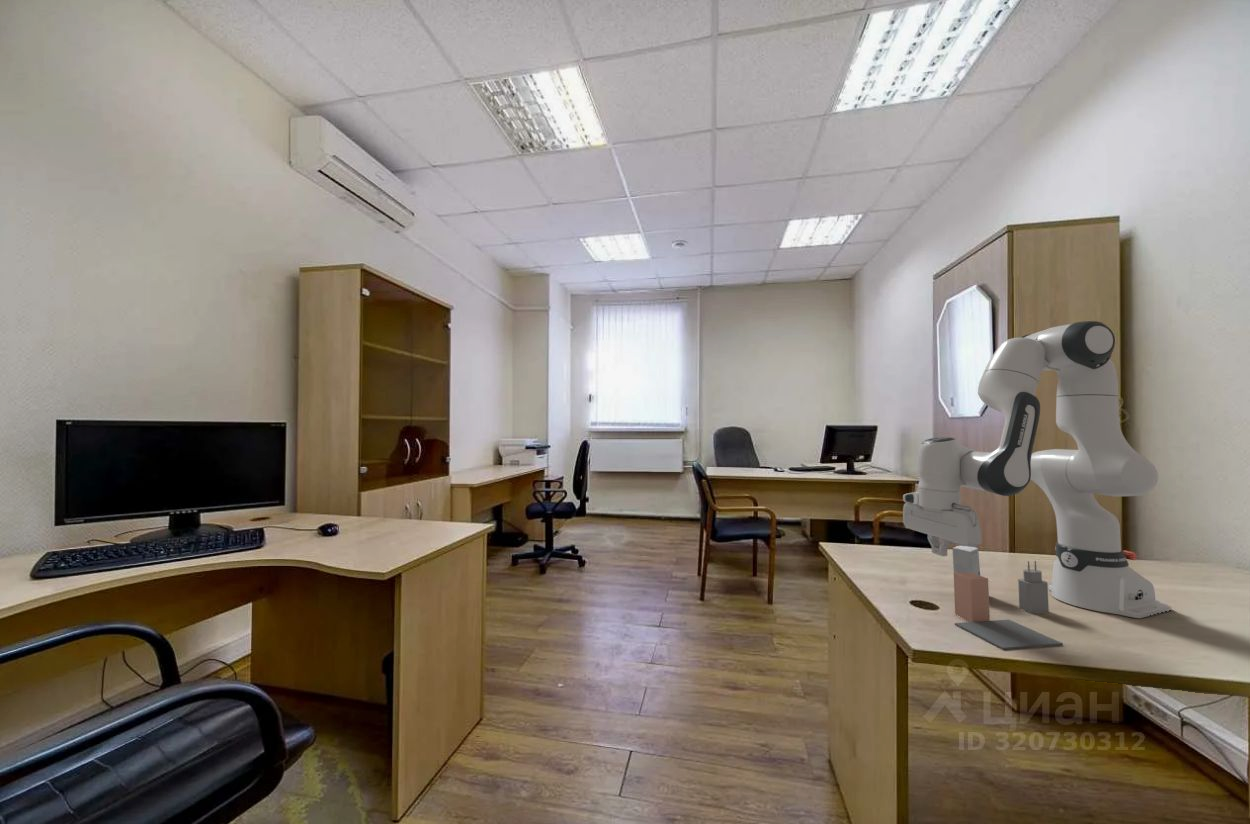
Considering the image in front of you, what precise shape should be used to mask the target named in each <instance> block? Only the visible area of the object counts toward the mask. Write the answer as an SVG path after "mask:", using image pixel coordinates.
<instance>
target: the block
mask: <svg viewBox="0 0 1250 824" xmlns="http://www.w3.org/2000/svg"><path fill="white" fill-rule="evenodd" d="M953 591H954V592H953V593H954V594H953V595H954V596H953V597H954V615H955V614H956V615H955V616H957V615H958V616H957V617H959V616H960V617H959V618H961V617H962V618H961V619H963V618H964V619H963V620H965V619H966V620H965V621H967V620H968V621H967V622H969V621H970V622H979V621H991V618H990V594H989V593H990V592H989V591H990V590H989V578H988V577H986V576H983V575H981V574H980V575H977V574H974V573H972V572H961V573H954V572H953Z"/></svg>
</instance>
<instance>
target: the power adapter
mask: <svg viewBox="0 0 1250 824" xmlns="http://www.w3.org/2000/svg"><path fill="white" fill-rule="evenodd" d="M1022 575H1023V576H1022V578H1018V579H1017V580H1018V581H1017V582H1018V583H1017V584H1018V585H1017V587H1018V609H1019V608H1020V609H1019V610H1021V609H1023V610H1025V611H1024V612H1026V611H1027V612H1026V613H1028V612H1030V613H1029V614H1045V612H1048V613H1049V612H1050V611H1049V610H1050V609H1049V585H1048V581H1046V580H1043V577H1042V575H1043V574H1042V571H1041V570H1039V569H1037V560H1034V569H1033V568H1030V561H1029V560H1027V569H1022ZM1023 610H1022V611H1023Z"/></svg>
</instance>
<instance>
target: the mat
mask: <svg viewBox="0 0 1250 824" xmlns="http://www.w3.org/2000/svg"><path fill="white" fill-rule="evenodd" d="M956 625H957V626H956ZM954 626H956V627H958V626H959V627H958V628H960V629H962V630H964V631H966V632H968V633H969V632H970V633H969V634H971V635H973V636H976V637H977V638H980V639H981V640H983V641H986V642H987V643H989V644H991V645H992V646H995V647H996V648H998V649H1000V650H1004V651H1005V650H1018V649H1028V648H1042V647H1043V648H1044V647H1045V648H1046V647H1056V646H1057V647H1058V646H1064V645H1063V642H1061V641H1059V640H1056V639H1054V638H1052V637H1050V636H1047V635H1045V634H1043V633H1041V632H1039V631H1036V630H1034V629H1031V628H1029V627H1027V626H1025V625H1022V624H1020V623H1018V622H1017V621H1016V622H1015V621H1013V620H1012V619H998V620H990V621H979V622H969V621H965V622H955V623H954Z"/></svg>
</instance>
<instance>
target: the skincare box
mask: <svg viewBox="0 0 1250 824" xmlns="http://www.w3.org/2000/svg"><path fill="white" fill-rule="evenodd" d="M952 564H953V566H952V567H953V574H954V573H961V572H972V573H974V574H977V575H980V576H981V569H980V568H981V566H980V565H981V564H980V553H979V548H978V547H976V546H964V545H961V544H960V545H957V546H954V547H953V548H952Z"/></svg>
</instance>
